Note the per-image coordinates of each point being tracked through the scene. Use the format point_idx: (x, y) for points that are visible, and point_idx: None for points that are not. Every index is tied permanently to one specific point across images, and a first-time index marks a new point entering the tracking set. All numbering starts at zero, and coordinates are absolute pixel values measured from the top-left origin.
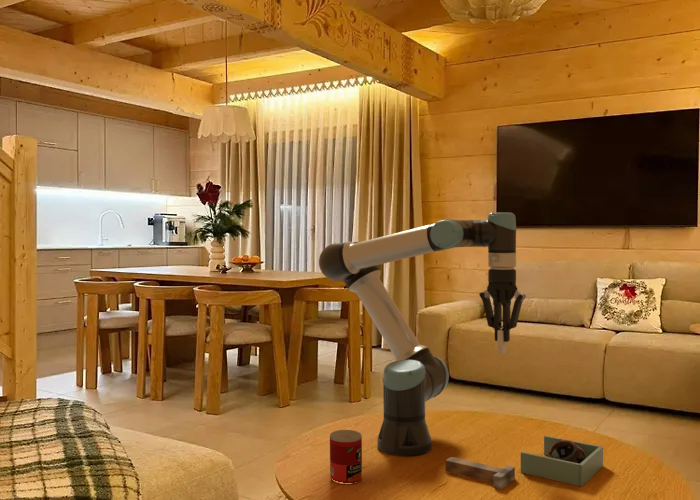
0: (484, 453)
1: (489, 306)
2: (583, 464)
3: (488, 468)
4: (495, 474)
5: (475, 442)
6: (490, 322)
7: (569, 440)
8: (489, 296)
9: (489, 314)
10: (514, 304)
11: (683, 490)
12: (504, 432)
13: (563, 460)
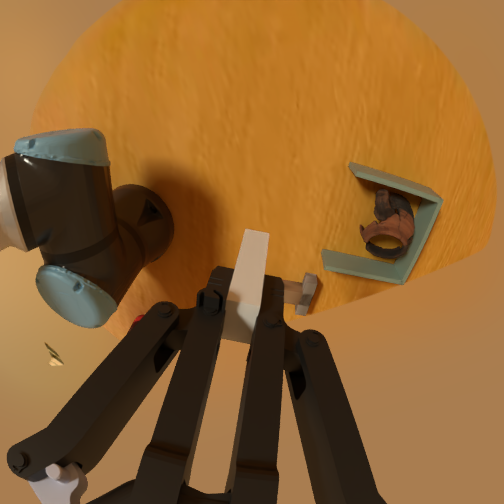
0: (252, 197)
1: (114, 424)
2: (405, 280)
3: (284, 298)
4: (297, 311)
5: (220, 150)
6: (167, 356)
7: (400, 236)
8: (79, 480)
9: (146, 394)
10: (318, 494)
11: (488, 238)
12: (253, 67)
13: (383, 277)
